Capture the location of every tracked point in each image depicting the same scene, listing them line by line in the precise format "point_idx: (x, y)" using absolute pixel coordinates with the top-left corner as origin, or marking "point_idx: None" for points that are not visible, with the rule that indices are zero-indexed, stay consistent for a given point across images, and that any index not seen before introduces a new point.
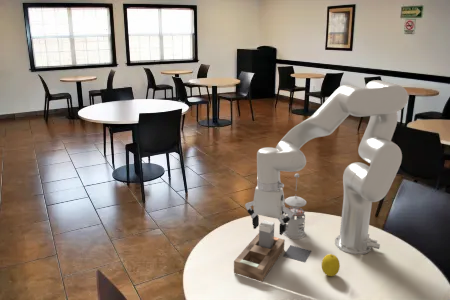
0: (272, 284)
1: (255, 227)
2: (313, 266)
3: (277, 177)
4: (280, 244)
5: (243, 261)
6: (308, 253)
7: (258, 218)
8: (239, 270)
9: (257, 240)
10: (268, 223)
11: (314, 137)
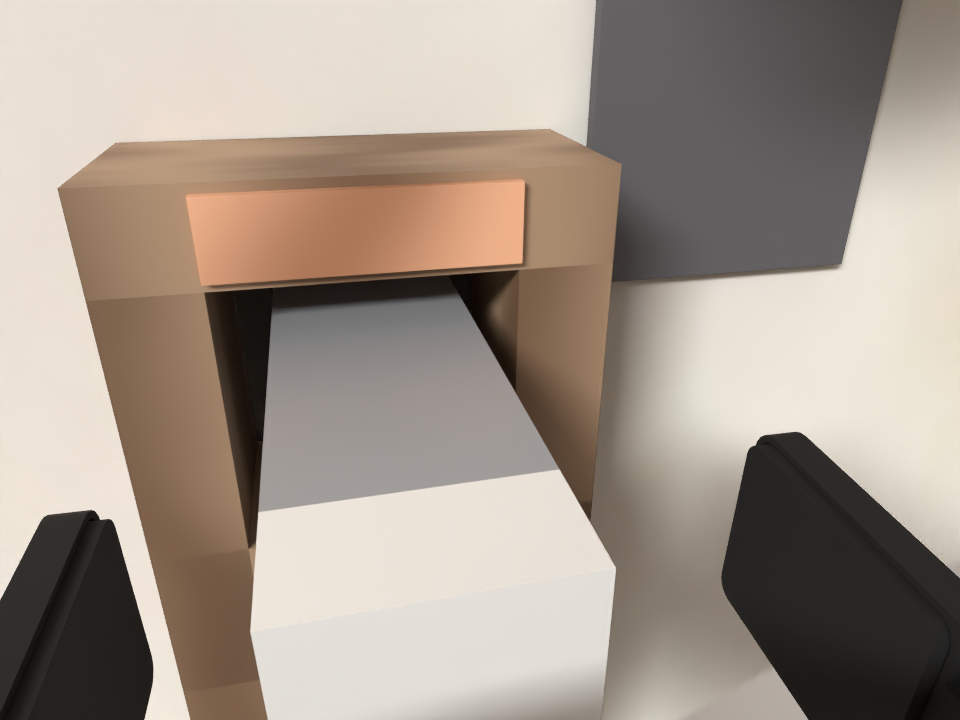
0: (609, 665)
1: (147, 699)
2: (913, 262)
3: None
4: (597, 335)
5: None
6: (872, 51)
7: (41, 701)
8: None
9: (213, 434)
10: (479, 692)
11: None
